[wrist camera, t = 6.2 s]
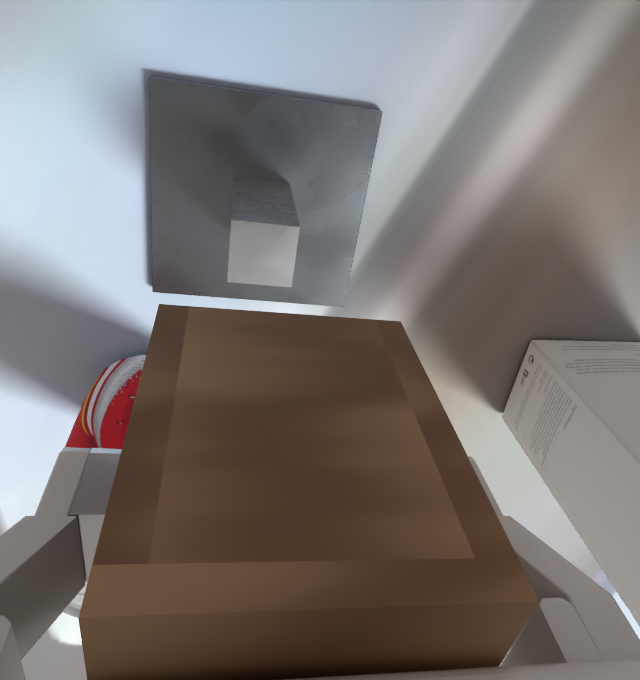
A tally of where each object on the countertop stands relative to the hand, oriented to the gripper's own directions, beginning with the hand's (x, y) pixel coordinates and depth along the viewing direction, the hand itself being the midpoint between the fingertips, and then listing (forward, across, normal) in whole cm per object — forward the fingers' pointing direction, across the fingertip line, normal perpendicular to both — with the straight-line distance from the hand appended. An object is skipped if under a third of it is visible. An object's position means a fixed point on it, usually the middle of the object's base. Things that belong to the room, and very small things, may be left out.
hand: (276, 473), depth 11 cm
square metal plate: (+18, 0, 0) cm, 18 cm away
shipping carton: (+2, 0, 0) cm, 2 cm away
